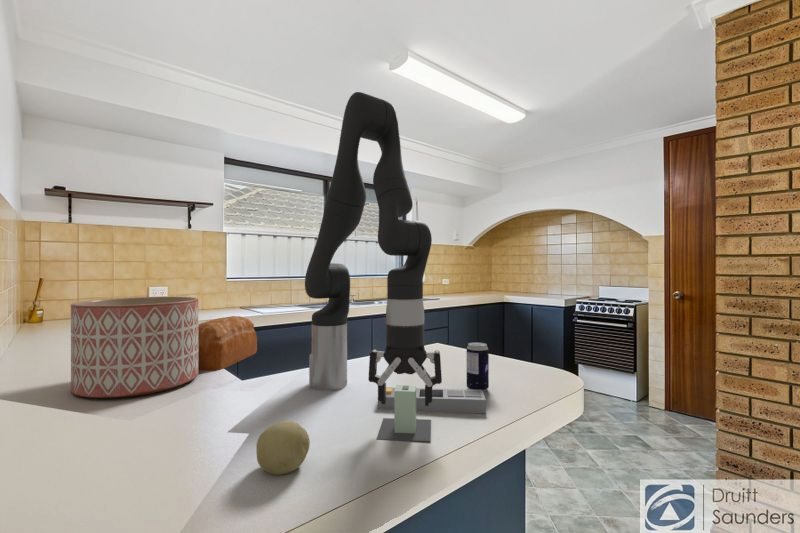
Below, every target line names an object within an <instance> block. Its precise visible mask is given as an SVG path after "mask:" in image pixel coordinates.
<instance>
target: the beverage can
mask: <svg viewBox="0 0 800 533" xmlns="http://www.w3.org/2000/svg"><path fill="white" fill-rule="evenodd" d="M489 352H490V351H489V348H488V344H487V343H485V342H478V341H477V342H468V343H467V347H466V388H467V389H471V390H482V391H483V393H485V392H486V391H487V390H488V389H489V387H490V384H489V382H490V379H489V375H490V374H489V372H490V371H489V368H490V367H489V366H490V365H489V364H490V363H489V362H490V361H489V360H490V358H489V354H490V353H489Z"/></svg>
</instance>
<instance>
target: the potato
mask: <svg viewBox="0 0 800 533" xmlns="http://www.w3.org/2000/svg"><path fill="white" fill-rule="evenodd" d="M310 442H311V441H310V436H309V434H308V432H307V430H306V429H305V428H304V427H303V426H301V425H300V424H298V423H297V422H295V421H292V420H284V421H279V422H277V423H273V424H272V425H270V426H269V427H267V428H265V429H264V430H263V431H262V432H261V433H260V435H259V436H258V438H257V441H256V445H255V446H256V448H255V449H256V461H257V464H258V465H259V467H260V468H261V469H262V470H264V471H265V472H267V473H269V474H272V475H277V476H280V475H286V474H289V473H292V472H294V471H296V470H297V469H298V468H299V467H301V465H302V464H303V462H304V461H305V459H306V458H307V455H308V452H309V450H310Z"/></svg>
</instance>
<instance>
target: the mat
mask: <svg viewBox="0 0 800 533" xmlns="http://www.w3.org/2000/svg"><path fill="white" fill-rule="evenodd" d="M431 435H432V419H423V418H419V419H418V418H416V432H415V433H395V417H393V418H388V417H387V418H385V417H383V419H382V421H381V425H380V427H379V430H378V433H377V437H376V440H378V441H394V442H411V443H412V442H413V443H425V444H426V443H427V444H431V441H432V439H431V437H432V436H431Z"/></svg>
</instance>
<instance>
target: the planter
mask: <svg viewBox="0 0 800 533" xmlns="http://www.w3.org/2000/svg"><path fill="white" fill-rule="evenodd" d="M198 324H199V298H198V297H193V296H192V297H191V296H141V297H139V296H138V297H136V296H135V297H120V298H118V297H117V298H103V299H94V300H93V299H92V300H91V299H90V300H83V301H76V302H73V303H71V304H70V392H71V394H73V395H75V396H77V397H81V398H88V399H89V398H90V399H92V398H93V399H106V398H107V399H108V398H110V399H111V398H128V397H130V398H131V397H136V396H137V397H138V396H143V395H144V396H145V395H150V394H154V393H160V392H163V391H166V390H170V389H174V388H176V387H179V386H181V385H184V384H187V383H189V382H190V381H193V380H194V379H195V378H197V377H198V376H199V370H198Z"/></svg>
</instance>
